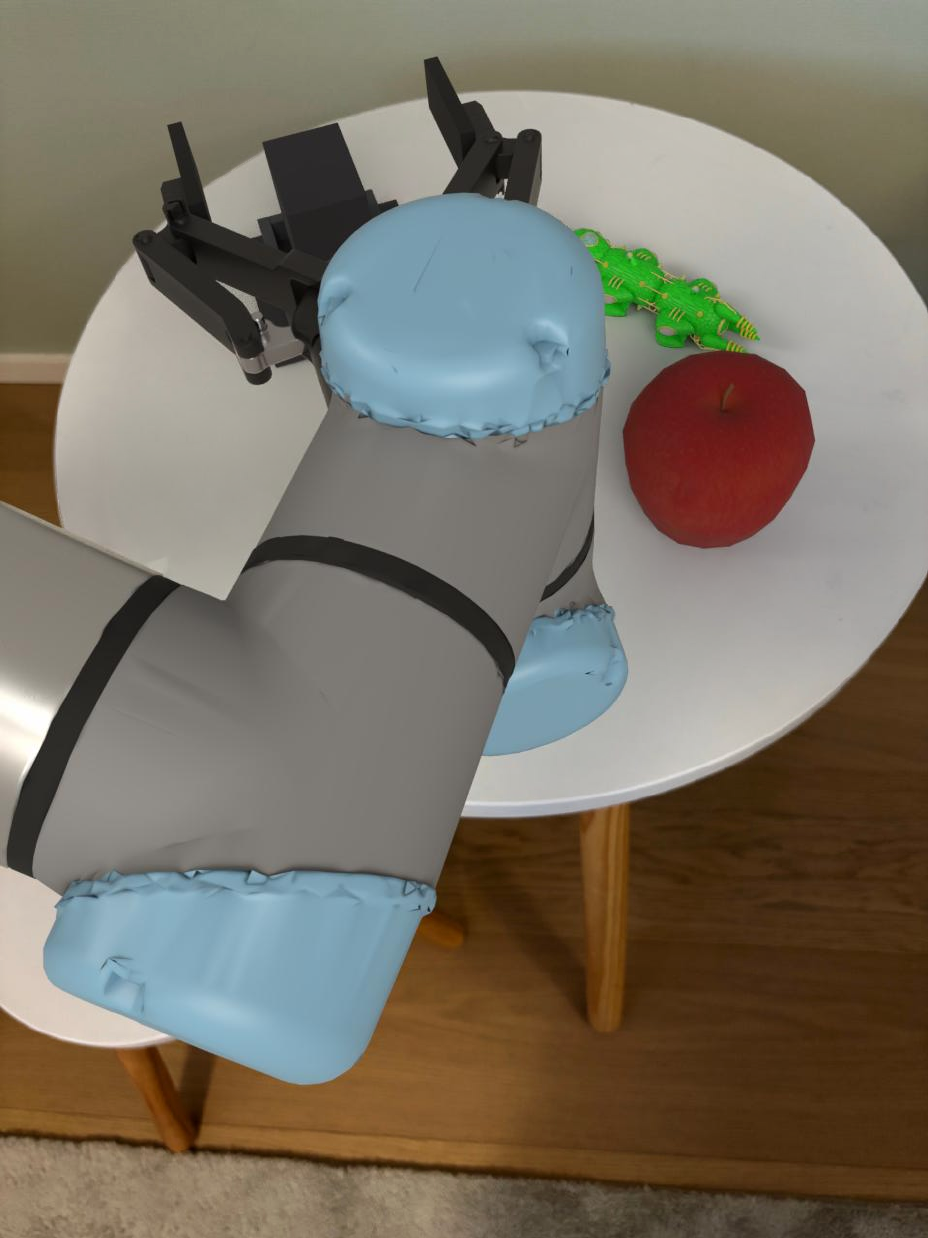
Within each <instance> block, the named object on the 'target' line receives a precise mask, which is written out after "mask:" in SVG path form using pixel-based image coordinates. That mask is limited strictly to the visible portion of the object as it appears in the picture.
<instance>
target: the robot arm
mask: <svg viewBox="0 0 928 1238" xmlns="http://www.w3.org/2000/svg"><path fill="white" fill-rule="evenodd" d="M439 58H440V57H439V56H438V55H436V56H432V57H429V58H425V59H423V66H424V76H425V85H426V86H425V87H426V95H427V103H428V109H429V111H430V113H431V115H432V117H433V120H434V122H435V123H436V125H437V128H438V130H439V132H440V134H441V136H442V138H443V141H444V142H445V145H446V147H447V148H448V149H447V150H448V151H449V153H450V155H451V157H452V160H453V162H454V164H455V165H456V167H457V170H456V171H455V173H454V175H453V176H452V178H451V179H450V181H449V182H448V183H447V185H446V187H445V189H443V192H442V193H441V194H438V195H431V196H425V197H422V198H418V199H414V200H411V201H408V202H405V203H402V204H398V205H399V206H397V207H395V208H392V209H390V210H388V211H386V212H384V213H382V214H380V215H378V216H376V217H375V218H373V219H371V220H370V221H368V222H367V223H366V224H364V225H363V226H362V227H360V228H359V229H358V230H356V231H355V232H354V233H353V234H352V235H351V236H350V237H349V238H348V239H347V240H346V241H345V242H344V243H343V244H342V245H341V246H340V248H339V249H338V250H337V252H336V253H333V254H330V258H331V259H330V260H328V261H327V262H326V261H324V260H321V259H319V258H316V257H314V256H311V255H309V254H307V253H304V252H302V251H299V250H296V249H293V250H291V251H290V252H289V253H285V252H283V251H280V250H278V249H276V248H273V247H271V246H268V245H266V244H263V243H261V242H259V241H256V240H254V239H251V238H252V237H249V236H247V235H244V234H242V233H239V232H237V231H234V230H232V229H229V228H227V227H225V226H222V225H220V224H218V223H216V222H213V221H212V217H211V216H212V215H211V213H210V209H209V205H208V202H207V198H206V195H205V191H204V188H203V184H202V180H201V177H200V174H199V170H198V169H199V168H198V167H197V163H196V161H195V157H194V153H193V152H192V148H191V146H190V143H189V140H188V137H187V134H186V133H187V132H186V131H185V128H184V126H183V121H177V122H173V123H169V124H166V126H167V130H168V134H169V138H170V142H171V146H172V149H173V153H174V156H175V161H176V166H177V169H178V173H179V177H176V178H173V179H169V180H165V181H163V182H162V184H161V187H160V193H161V196H162V197H161V198H162V203H163V205H162V208H161V209H162V212H163V215H164V218H165V221H166V222H167V223H166V225H165V226H164V227H163V228H162V229H161V230H159V231H158V232H156V231H154V230H152V229H144V230H140V231H138V232H136V233H135V234H134V235H133V237H132V245H133V247H134V249H135V251H136V255H137V257H138V259H139V261H140V263H141V266H142V268H143V271H144V273H145V275H146V277H147V279H148V282H149V284H150V285H151V286H152V287H153V288H154V289H156V290H157V291H158V292H159V293H161V294H162V295H163V296H164V297H165V298H166V299H168V300H169V301H170V302H171V303H172V304H174V305H175V306H176V307H177V308H178V309H179V310H180V311H182V312H183V313H184V314H186V315H187V316H188V317H189V318H190V319H192V320H193V321H194V323H196V324H197V325H198V326H200V327H201V328H202V329H203V330H204V331H206V332H207V333H208V334H210V336H212V337H213V338H214V339H216V340H217V341H218V343H220V344H222V345H223V347H225V348H226V349H227V350H229V352H231V353H232V354H233V355H235V356H236V359H237V361H238V364H239V366H240V368H241V369H242V373H243V375H244V377H245V380H246V381H247V382H248V383H249V384H250V385H252V386H261V385H265V384H267V383H268V382H269V381H270V380H271V379H272V376H273V370H272V368H271V366H275V364H277V363H279V362H282V361H285V360H288V359H290V358H293V357H296V356H298V355H302V356H303V357H304V358H306V359H305V360H307V361H308V362H310V364H312V366H313V367H314V370H315V373H316V376H317V379H318V382H319V386H320V389H321V392H322V396H323V399H324V401H325V405H326V408H327V411H326V413H325V415H324V417H323V419H322V420H321V423H320V424H319V426H318V428H317V430H316V432H315V433H314V436H313V437H312V439H311V442H310V443H309V445H308V447H307V449H306V451H305V452H304V454H303V456H302V457H301V460H300V462H299V464H298V466H297V467H296V469H295V472H294V473H293V475H292V477H291V479H290V481H289V483H288V484H287V487H286V489H285V491H284V492H283V494H282V496H281V498H280V500H279V502H278V504H277V506H276V508H275V510H274V511H273V514H272V515H271V517H270V519H269V521H268V523H267V525H266V527H265V529H264V530H263V533H262V535H261V537H260V538H259V541H258V542H257V544H256V546H255V547H254V548H253V549H252V550H251V553H250V554H249V556H248V558H247V560H246V561H245V563H244V566H243V567H242V569H241V571H240V573H239V575H238V576H237V578H236V580H235V582H234V583H233V585H232V587H231V589H230V591H229V592H228V594H227V596H226V599H220V598H217V597H215V596H213V595H211V594H208V593H206V592H203V591H202V590H201V591H200V590H199V589H196V588H193V587H190V586H188V585H185V584H182V583H179V582H177V581H175V580H172V579H170V578H168V577H166V576H164V574H163V573H161V572H159V571H157V570H154V569H153V568H150V567H148V566H146V565H144V564H142V563H140V562H138V561H135V560H133V559H130V558H128V557H126V556H123V555H122V554H119V553H118V552H115V551H112V550H111V549H108V548H106V547H104V546H102V545H100V544H97V543H95V542H94V541H91V540H89V539H86V538H84V537H82V536H81V535H78V534H75V533H73V532H71V531H69V530H66V529H64V528H62V527H60V526H58V525H56V524H53V523H51V522H49V521H47V520H46V519H42V518H41V517H39V516H36V515H34V514H32V513H29V512H27V511H25V510H23V509H21V508H18V507H16V506H15V505H12V504H10V503H8V502H6V501H3V500H1V499H0V867H3V868H6V869H10V870H12V871H15V872H17V873H19V874H22V875H24V876H26V877H29V878H31V879H34V880H37V881H38V882H40V883H41V884H43V885H44V886H45V887H46V888H48V889H50V890H52V891H53V892H54V893H56V894H57V895H59V896H60V899H59V900H58V901H57V902H56V904H55V905H53V907H54V908H55V909H56V913H55V919H54V922H53V924H52V926H51V928H50V931H49V933H48V935H47V937H46V940H45V941H44V945H43V947H42V967H43V970H44V973H45V975H46V977H47V980H48V981H49V982H50V983H51V985H53V986H54V987H55V988H57V989H59V990H61V991H62V992H65V993H66V994H69V995H70V996H72V997H74V998H78V999H79V1000H82V1001H84V1002H86V1003H89V1004H91V1005H94V1006H96V1007H99V1008H101V1009H103V1010H106V1011H108V1012H110V1013H114V1014H117V1015H120V1016H122V1017H125V1018H127V1019H129V1020H132V1021H134V1022H136V1023H138V1024H140V1025H142V1026H144V1027H147V1028H149V1029H152V1030H154V1031H157V1032H158V1033H162V1034H165V1035H168V1036H169V1037H172V1038H173V1039H176V1040H179V1041H181V1042H184V1043H185V1044H188V1045H191V1046H193V1047H196V1048H198V1049H200V1050H203V1051H205V1052H208V1053H210V1054H212V1055H216V1056H218V1057H221V1058H223V1059H226V1060H229V1061H232V1062H234V1063H236V1064H239V1065H242V1066H244V1067H247V1068H249V1069H252V1070H254V1071H257V1072H260V1073H262V1074H265V1075H267V1076H270V1077H271V1078H275V1079H278V1080H279V1081H283V1082H285V1083H289V1084H294V1085H300V1086H307V1085H319V1084H320V1085H321V1084H323V1083H326V1082H327V1083H328V1082H331V1081H333V1080H335V1079H336V1078H338V1077H340V1076H341V1075H343V1074H344V1073H346V1072H348V1071H349V1070H350V1069H352V1068H353V1066H354V1065H357V1064H358V1063H359V1061H360V1059H361V1058H362V1056H363V1054H364V1053H365V1052H366V1050H367V1047H368V1046H369V1044H370V1043H371V1039H372V1037H373V1035H374V1032H375V1030H376V1028H377V1025H378V1023H379V1020H380V1018H381V1015H382V1013H383V1011H384V1009H385V1006H386V1003H387V1001H388V999H389V997H390V995H391V992H392V989H393V987H394V984H395V982H396V979H397V977H398V975H399V973H400V970H401V968H402V965H403V964H404V960H405V958H406V956H407V954H408V951H409V950H410V947H411V944H412V942H413V939H414V937H415V934H416V932H417V930H418V928H419V925H420V922H421V921H422V919H423V917H425V916H427V915H429V914H431V913H432V911H433V910H434V909H435V907H436V903H437V897H438V895H437V890H436V887H437V884H438V882H439V880H440V876H441V873H442V870H443V868H444V865H445V861H446V859H447V856H448V853H449V851H450V847H451V845H452V842H453V839H454V836H455V833H456V830H457V828H458V825H459V822H460V819H461V816H462V813H463V810H464V807H465V806H466V802H467V799H468V796H469V795H470V794H469V793H470V790H471V788H472V786H473V782H474V779H475V776H476V774H477V771H478V768H479V765H480V762H481V759H482V757H499V756H509V755H514V754H520V753H523V752H528V751H532V750H535V749H537V748H540V747H544V746H547V745H550V744H552V743H553V744H554V743H555V742H558V741H560V740H562V739H565V738H567V737H569V736H571V735H573V734H574V733H576V732H579V731H580V730H581V729H583V728H585V727H587V726H588V725H590V724H591V723H593V722H595V721H596V720H597V719H599V718H600V717H602V716H603V715H604V713H606V712H607V711H608V710H609V709H610V708H611V707H612V706H613V705H614V703H616V701H618V698H619V697H620V696H621V695H622V692H623V691H624V688H625V686H626V684H627V681H628V676H629V661H628V657H627V655H626V652H625V649H624V646H623V644H622V641H621V638H620V635H619V632H618V629H617V626H616V623H615V619H616V612H615V609H614V607H613V606H612V605H609V604H608V603H607V602H606V600H605V598H604V596H603V594H602V592H601V590H600V588H599V585H598V581H597V579H596V575H595V572H594V571H595V570H594V564H593V563H594V561H593V560H594V546H595V531H596V530H595V527H596V526H595V497H596V485H597V475H598V474H597V473H598V462H599V461H598V460H599V451H600V450H599V449H600V438H601V437H600V436H601V426H602V422H601V421H602V414H603V413H602V412H603V401H604V400H603V399H604V387H605V386H607V385H608V384H607V383H608V381H609V379H610V376H611V371H612V362H611V360H610V359H609V358H608V357H609V350H608V349H607V334H606V333H607V332H606V314H605V299H604V289H603V284H602V279H601V275H600V272H599V269H598V267H597V264H596V262H595V260H594V258H593V256H592V254H591V253H590V251H589V250H588V248H587V247H586V246H585V245H584V243H583V242H582V241H581V239H580V238H579V237H578V236H577V235H576V234H575V233H574V232H573V231H574V230H572V228H570V227H569V226H568V225H566V224H565V223H564V222H563V221H562V220H560V219H559V218H558V217H555V216H554V215H553V214H551V213H550V212H548V211H546V210H544V209H542V208H539V207H538V203H539V197H540V193H541V186H542V181H543V135H542V133H541V131H540V130H538V129H536V128H525V129H521V131H519V132H518V134H517V135H516V137H504V136H503V134H502V133H501V132H499V131H497V130H496V129H495V126H494V124H493V123H492V122H491V119H490V117H489V116H488V113H487V112H486V110H485V108H484V106H483V104H481V103H480V102H479V101H477V100H471V101H467V102H464V103H462V101H461V100H460V98H459V96H458V94H457V92H456V89H455V88H454V86H453V84H452V82H451V80H450V78H449V76H448V74H447V72H446V70H445V68H444V67H443V64H442V62H441V60H440V59H439ZM505 180H507V181H506V185H505ZM500 193H501V196H503V197H497V195H499V194H500ZM222 284H223V285H222ZM224 285H225V286H228V287H231V288H233V289H235V290H238V291H239V292H242V293H244V294H246V295H249V296H251V297H253V298H255V297H256V298H258V299H260V300H262V301H265V302H267V303H269V304H272V305H274V306H276V307H278V308H281V309H283V310H285V311H286V312H287V313H288V315H289V316H290V317H291V325H290V326H287V327H279V326H276V325H274V324H273V323H272V322H271V321H270V320H268V319H264V316H263V314H262V313H261V312H259V311H253V312H252V313H250V311H249V309H248V307H247V306H246V305H245V303H244V302H243V301H242V300H241V299H240V298H238V297H237V296H236V295H235V294H234V293H232V292H231V290H229V289H227V288H226V287H225V286H224Z"/></svg>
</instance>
